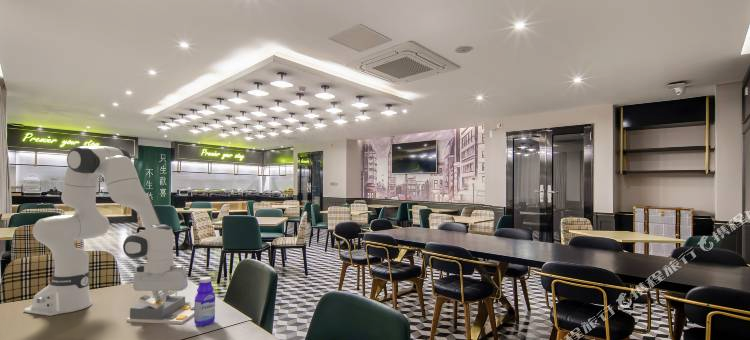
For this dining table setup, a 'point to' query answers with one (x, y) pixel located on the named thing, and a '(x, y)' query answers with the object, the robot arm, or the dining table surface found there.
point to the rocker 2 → (168, 293)
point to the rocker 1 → (150, 301)
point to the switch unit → (163, 312)
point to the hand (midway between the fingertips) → (160, 301)
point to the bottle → (204, 303)
